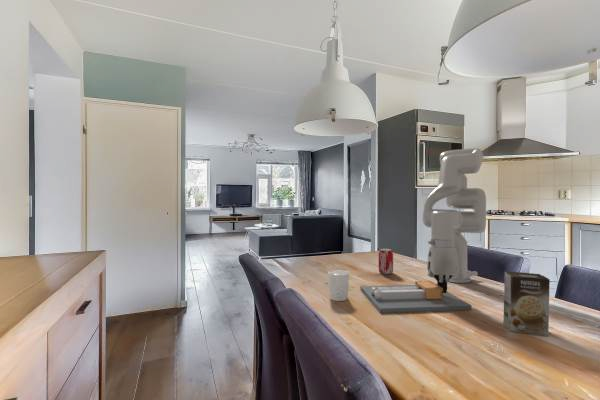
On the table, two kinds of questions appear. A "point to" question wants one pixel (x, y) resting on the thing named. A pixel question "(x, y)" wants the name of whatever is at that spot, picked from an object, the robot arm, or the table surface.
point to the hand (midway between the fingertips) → (442, 291)
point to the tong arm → (394, 288)
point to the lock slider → (431, 289)
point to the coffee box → (526, 303)
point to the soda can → (385, 261)
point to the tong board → (411, 300)
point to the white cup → (338, 284)
